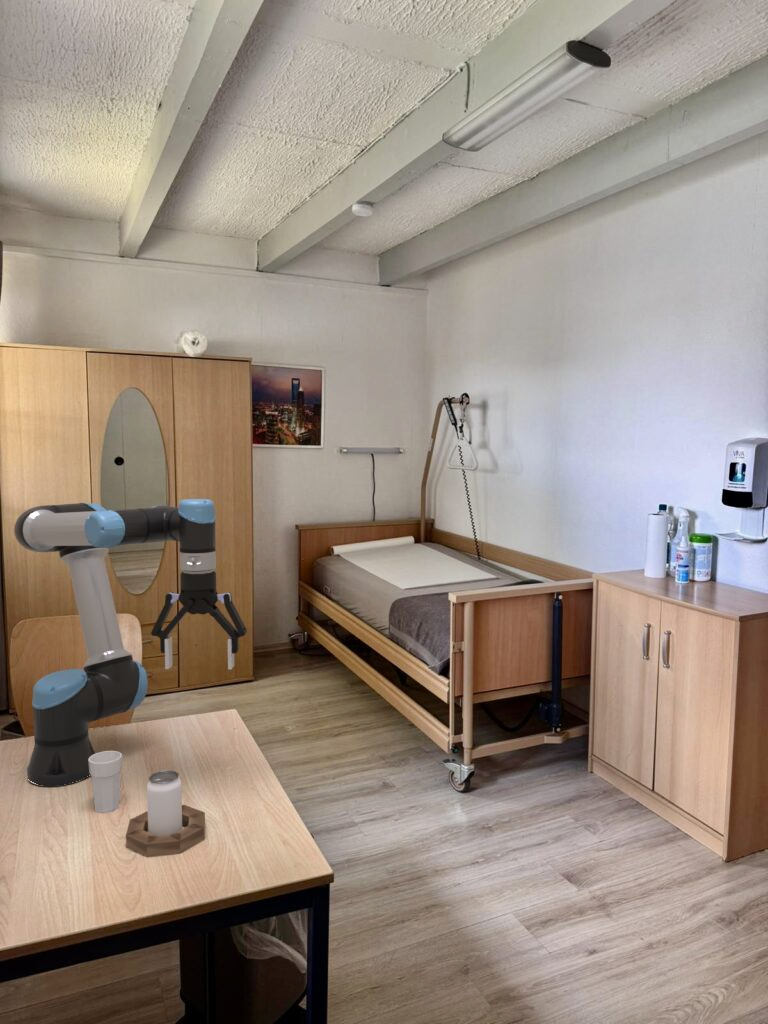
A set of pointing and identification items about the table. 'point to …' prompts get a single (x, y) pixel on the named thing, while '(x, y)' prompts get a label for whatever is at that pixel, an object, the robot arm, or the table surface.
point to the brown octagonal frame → (166, 843)
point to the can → (164, 803)
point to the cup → (105, 779)
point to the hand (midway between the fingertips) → (200, 667)
